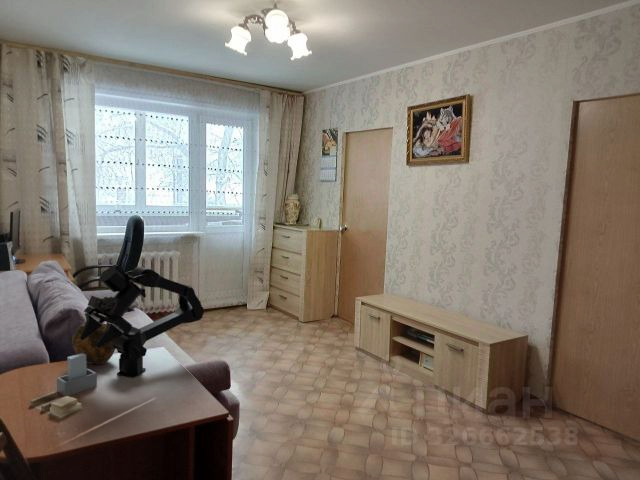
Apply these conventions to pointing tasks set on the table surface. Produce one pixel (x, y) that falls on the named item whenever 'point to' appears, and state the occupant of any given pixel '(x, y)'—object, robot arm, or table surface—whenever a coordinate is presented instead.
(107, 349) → the rock
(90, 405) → the table surface
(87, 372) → the holder
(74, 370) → the panel
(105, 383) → the table surface
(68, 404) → the rack
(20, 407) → the table surface
